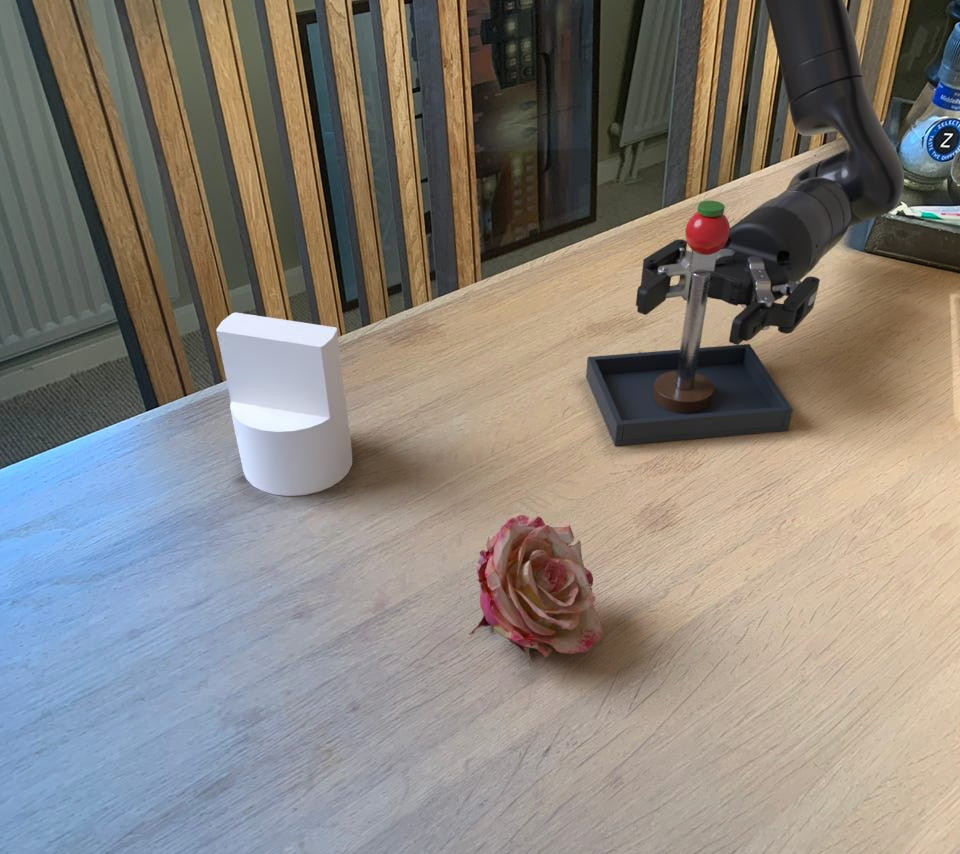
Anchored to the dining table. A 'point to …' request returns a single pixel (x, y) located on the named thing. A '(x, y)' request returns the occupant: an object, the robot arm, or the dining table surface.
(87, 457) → the dining table surface
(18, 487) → the dining table surface
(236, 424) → the base with upright slab
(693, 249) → the red ball topped stand
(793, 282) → the robot arm
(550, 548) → the flower
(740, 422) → the tray
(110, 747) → the dining table surface
